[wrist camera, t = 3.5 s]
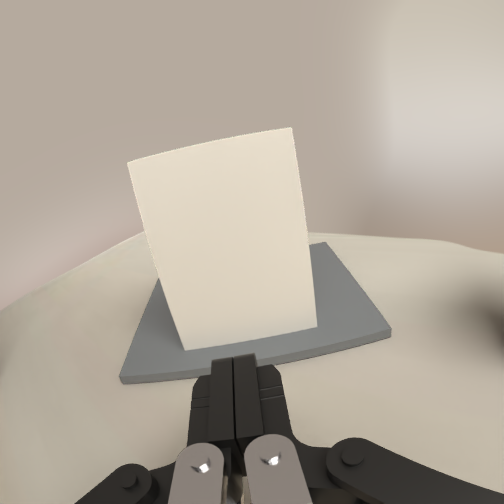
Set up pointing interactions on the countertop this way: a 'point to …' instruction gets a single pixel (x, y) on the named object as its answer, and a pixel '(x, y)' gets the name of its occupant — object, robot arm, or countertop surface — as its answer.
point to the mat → (266, 349)
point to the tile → (229, 237)
